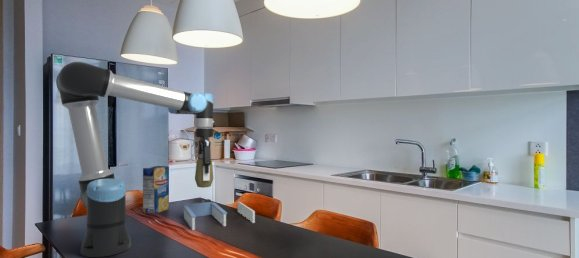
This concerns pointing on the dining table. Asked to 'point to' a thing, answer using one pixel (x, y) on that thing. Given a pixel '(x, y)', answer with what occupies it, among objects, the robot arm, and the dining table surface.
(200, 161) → the squeeze bottle
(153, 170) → the blue food box
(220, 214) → the divider rack
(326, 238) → the dining table surface
